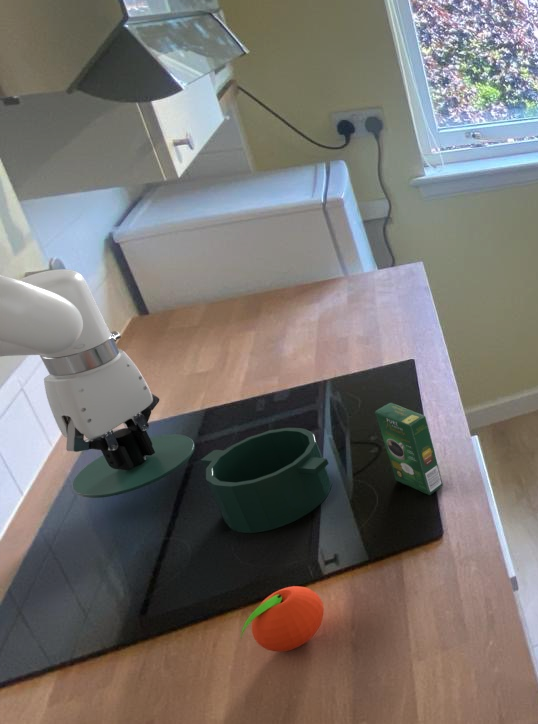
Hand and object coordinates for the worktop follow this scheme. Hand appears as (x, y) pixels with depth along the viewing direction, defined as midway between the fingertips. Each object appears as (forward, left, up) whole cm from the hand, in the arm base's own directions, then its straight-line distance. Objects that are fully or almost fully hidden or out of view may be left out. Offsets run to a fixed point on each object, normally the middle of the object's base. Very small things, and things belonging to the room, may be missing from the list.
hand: (133, 460), depth 110 cm
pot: (0, -23, -5) cm, 24 cm away
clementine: (-22, -44, -6) cm, 50 cm away
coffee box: (+6, -42, -6) cm, 43 cm away
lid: (0, 0, -1) cm, 1 cm away
